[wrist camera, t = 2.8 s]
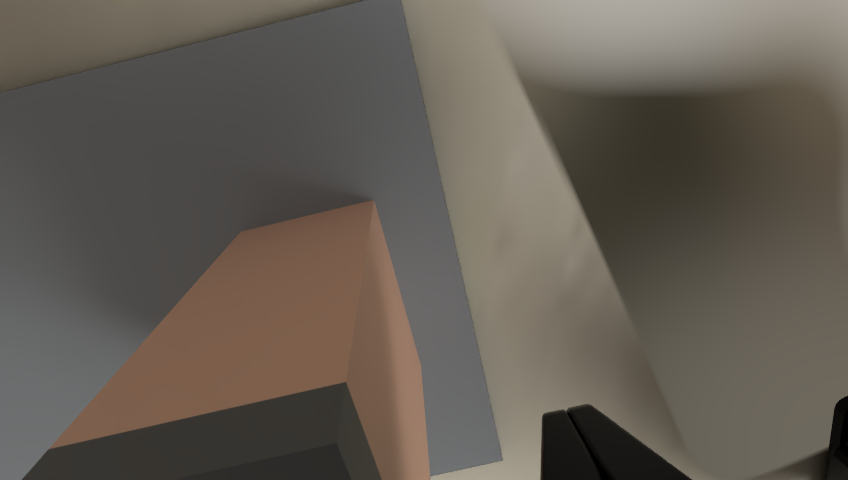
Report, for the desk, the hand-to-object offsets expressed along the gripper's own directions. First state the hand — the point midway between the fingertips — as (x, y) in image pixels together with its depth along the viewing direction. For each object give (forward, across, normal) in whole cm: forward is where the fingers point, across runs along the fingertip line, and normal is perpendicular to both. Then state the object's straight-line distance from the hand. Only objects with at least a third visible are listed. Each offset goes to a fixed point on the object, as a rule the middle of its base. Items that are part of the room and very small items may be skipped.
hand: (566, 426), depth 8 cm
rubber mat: (+7, +10, 0) cm, 12 cm away
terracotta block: (+7, +5, 0) cm, 8 cm away
